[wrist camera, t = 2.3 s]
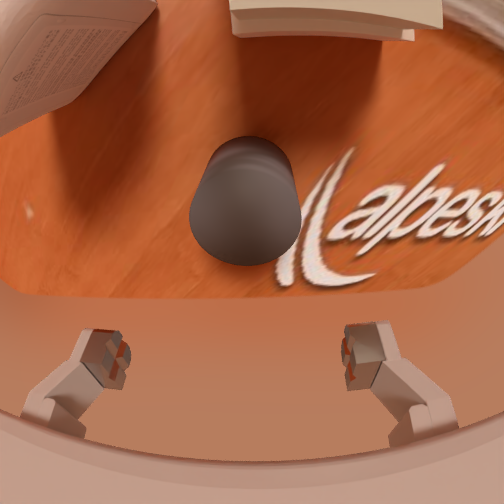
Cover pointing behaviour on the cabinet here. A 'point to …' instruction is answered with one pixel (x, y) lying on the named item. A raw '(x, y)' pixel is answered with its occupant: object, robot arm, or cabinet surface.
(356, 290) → the cabinet surface
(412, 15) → the tower top block
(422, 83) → the cabinet surface
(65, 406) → the robot arm
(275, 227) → the charcoal cylinder
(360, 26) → the tower bottom block
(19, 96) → the photo printer
